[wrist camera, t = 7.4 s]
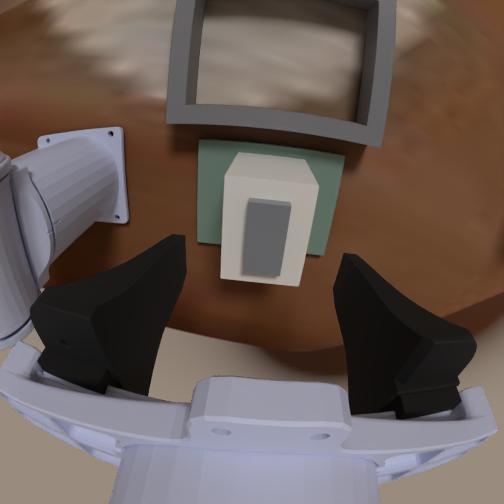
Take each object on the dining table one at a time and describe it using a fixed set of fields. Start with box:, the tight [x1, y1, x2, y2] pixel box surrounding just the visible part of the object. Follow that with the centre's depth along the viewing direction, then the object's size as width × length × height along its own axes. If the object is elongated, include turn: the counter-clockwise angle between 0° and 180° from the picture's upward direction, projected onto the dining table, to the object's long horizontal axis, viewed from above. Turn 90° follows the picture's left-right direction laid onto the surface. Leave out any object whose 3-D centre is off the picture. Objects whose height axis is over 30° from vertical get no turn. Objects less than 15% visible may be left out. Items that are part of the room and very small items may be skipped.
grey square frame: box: [166, 0, 396, 148], centre depth 13 cm, size 13×11×2 cm
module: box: [221, 152, 319, 286], centre depth 17 cm, size 4×6×7 cm
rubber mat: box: [197, 138, 345, 256], centre depth 20 cm, size 10×8×1 cm
